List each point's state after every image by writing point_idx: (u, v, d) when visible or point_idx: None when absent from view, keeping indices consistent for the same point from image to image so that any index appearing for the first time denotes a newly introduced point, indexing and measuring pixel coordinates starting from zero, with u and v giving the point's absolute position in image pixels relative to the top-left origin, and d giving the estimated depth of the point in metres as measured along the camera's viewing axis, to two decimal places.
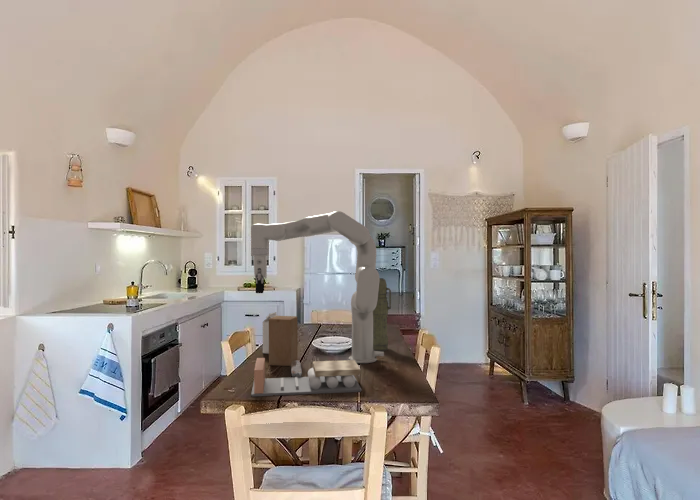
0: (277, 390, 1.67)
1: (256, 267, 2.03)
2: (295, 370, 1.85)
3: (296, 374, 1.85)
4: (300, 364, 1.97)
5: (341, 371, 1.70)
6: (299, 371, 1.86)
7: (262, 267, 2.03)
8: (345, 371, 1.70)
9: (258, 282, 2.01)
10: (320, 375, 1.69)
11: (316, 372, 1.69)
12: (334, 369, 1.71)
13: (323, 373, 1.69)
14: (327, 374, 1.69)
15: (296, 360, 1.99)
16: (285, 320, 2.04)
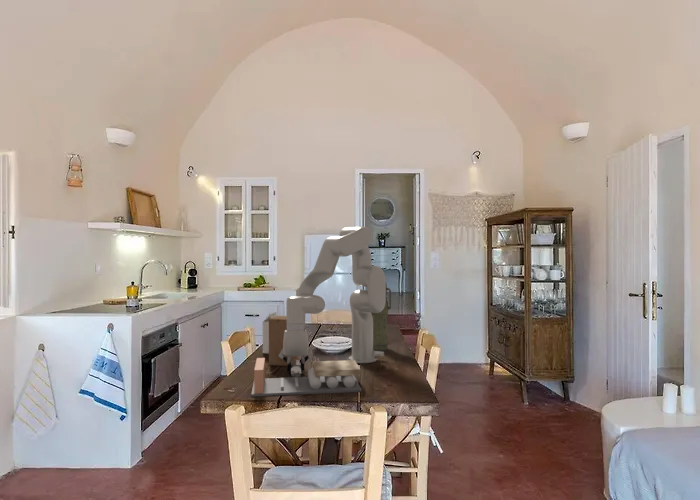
0: (277, 390, 1.67)
1: None
2: (295, 370, 1.85)
3: (296, 374, 1.85)
4: None
5: (341, 371, 1.70)
6: (299, 371, 1.86)
7: None
8: (345, 371, 1.70)
9: None
10: (320, 375, 1.69)
11: (316, 372, 1.69)
12: (334, 369, 1.71)
13: (323, 373, 1.69)
14: (327, 374, 1.69)
15: (296, 360, 1.99)
16: (285, 320, 2.04)
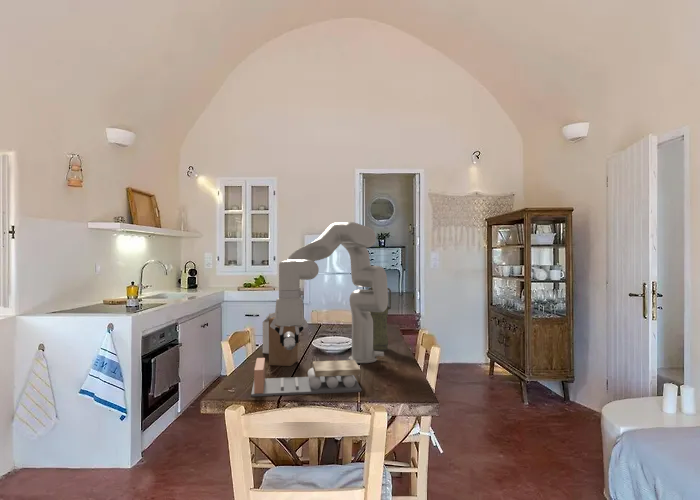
0: (277, 390, 1.67)
1: (302, 312, 1.73)
2: (288, 340, 1.67)
3: (289, 345, 1.67)
4: None
5: (341, 371, 1.70)
6: (292, 341, 1.67)
7: None
8: (345, 371, 1.70)
9: None
10: (320, 375, 1.69)
11: (316, 372, 1.69)
12: (334, 369, 1.71)
13: (323, 373, 1.69)
14: (327, 374, 1.69)
15: None
16: None
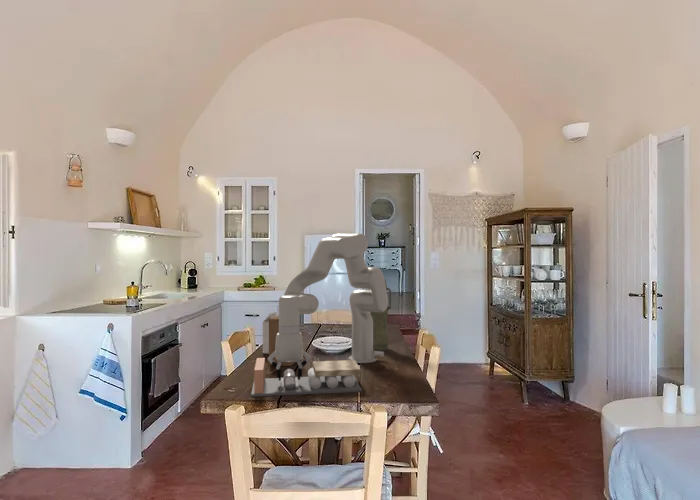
0: (277, 390, 1.67)
1: None
2: (288, 381, 1.67)
3: (289, 385, 1.67)
4: None
5: (341, 371, 1.70)
6: (292, 382, 1.67)
7: None
8: (345, 371, 1.70)
9: None
10: (320, 375, 1.69)
11: (316, 372, 1.69)
12: (334, 369, 1.71)
13: (323, 373, 1.69)
14: (327, 374, 1.69)
15: (290, 369, 1.80)
16: None
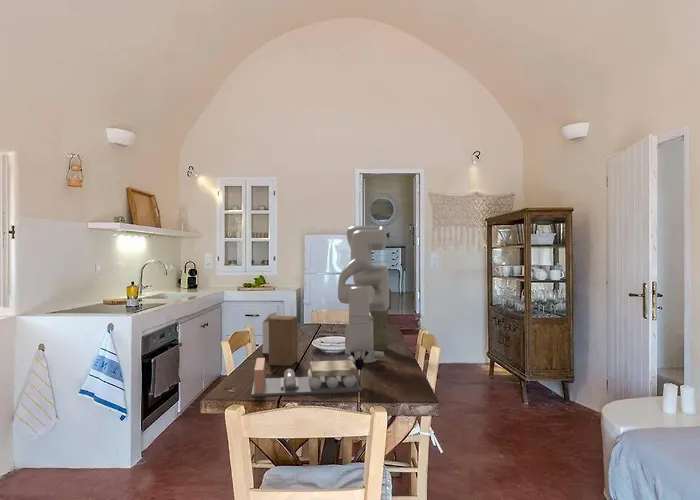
0: (277, 390, 1.67)
1: (372, 337, 1.77)
2: (288, 380, 1.67)
3: (289, 385, 1.67)
4: (294, 374, 1.79)
5: (338, 371, 1.70)
6: (293, 382, 1.67)
7: None
8: (342, 371, 1.70)
9: None
10: (316, 375, 1.68)
11: (313, 372, 1.68)
12: (331, 369, 1.70)
13: (320, 374, 1.69)
14: (324, 374, 1.69)
15: (290, 369, 1.80)
16: (285, 320, 2.04)
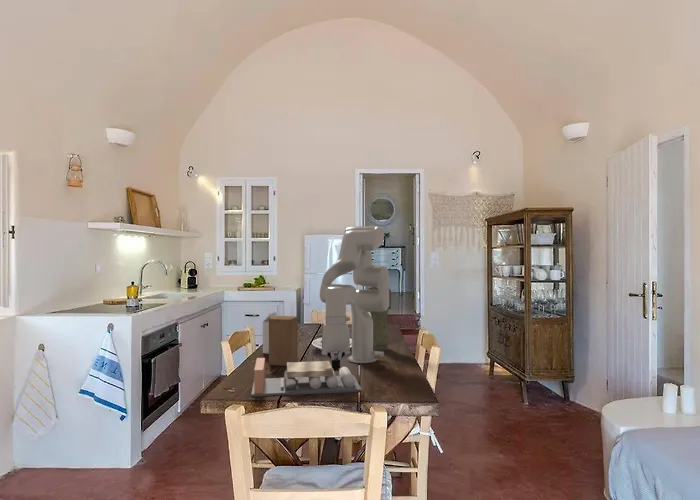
0: (277, 390, 1.67)
1: (349, 337, 1.76)
2: (289, 380, 1.67)
3: (289, 385, 1.67)
4: None
5: (313, 372, 1.68)
6: (293, 382, 1.67)
7: None
8: (317, 372, 1.69)
9: None
10: (291, 376, 1.67)
11: (288, 373, 1.67)
12: (306, 370, 1.69)
13: (295, 375, 1.67)
14: (299, 375, 1.68)
15: None
16: (285, 320, 2.04)
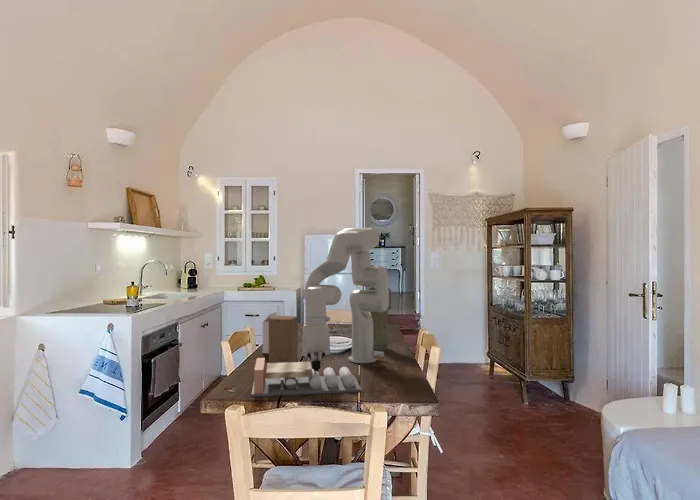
0: (277, 390, 1.67)
1: (329, 338, 1.75)
2: (289, 380, 1.67)
3: (290, 385, 1.67)
4: None
5: (292, 373, 1.67)
6: (293, 382, 1.67)
7: None
8: (297, 373, 1.68)
9: None
10: (270, 377, 1.66)
11: (267, 374, 1.66)
12: (286, 371, 1.68)
13: (274, 375, 1.66)
14: (278, 376, 1.67)
15: None
16: (285, 320, 2.04)
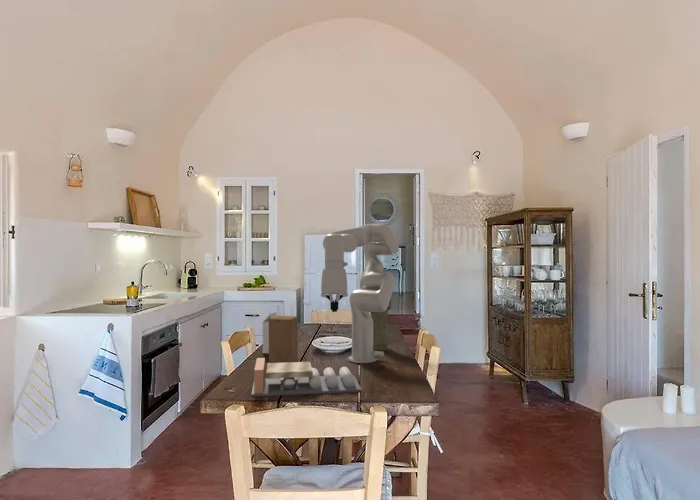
0: (277, 390, 1.67)
1: None
2: (287, 381, 1.67)
3: (288, 385, 1.67)
4: None
5: (293, 373, 1.67)
6: (291, 381, 1.67)
7: None
8: (297, 373, 1.68)
9: None
10: (271, 377, 1.66)
11: (267, 374, 1.66)
12: (286, 371, 1.68)
13: (274, 375, 1.66)
14: (278, 376, 1.67)
15: None
16: (285, 320, 2.04)
